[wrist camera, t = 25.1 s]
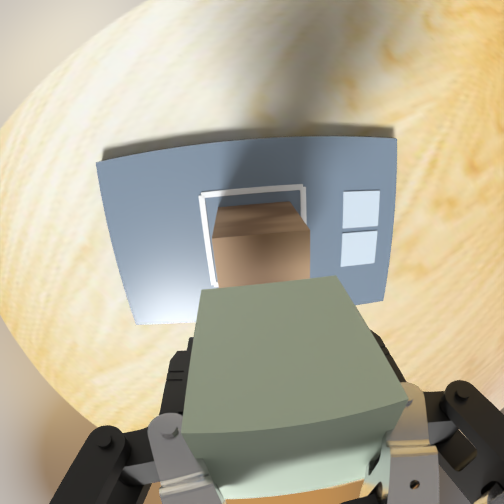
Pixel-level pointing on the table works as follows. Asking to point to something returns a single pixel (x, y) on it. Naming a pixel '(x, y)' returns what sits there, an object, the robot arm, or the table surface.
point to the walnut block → (260, 244)
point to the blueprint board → (244, 193)
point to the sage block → (286, 388)
